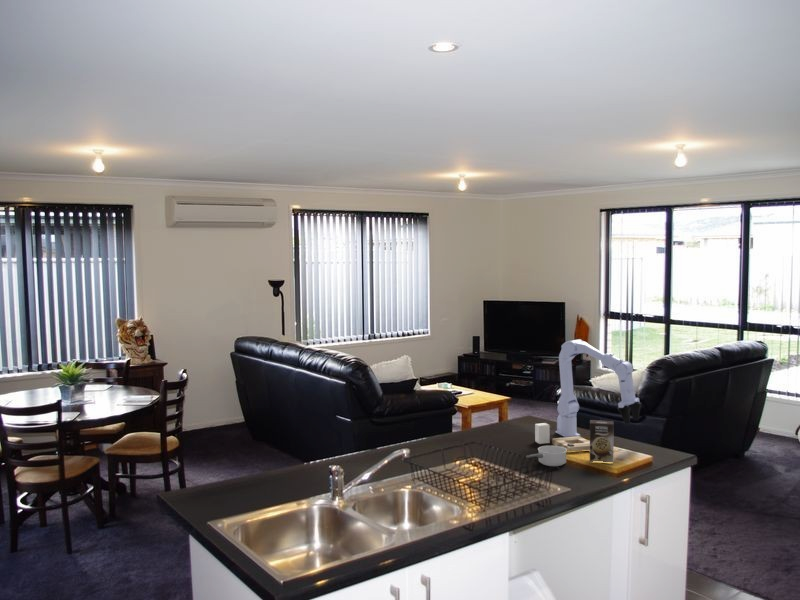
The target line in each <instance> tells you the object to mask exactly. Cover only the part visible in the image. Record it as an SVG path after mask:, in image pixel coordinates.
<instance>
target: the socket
mask: <svg viewBox="0 0 800 600" xmlns="http://www.w3.org/2000/svg"><path fill="white" fill-rule="evenodd" d="M575 443H577V444H575ZM551 445H552V446H560V447H564V448H566V449H567V450H568V451H582V450H590V440H588V439H586V438H584V437H582V436H581V435H580V436H571V437H564V436H563V437H556V438H555V437H554V438H552V440H551Z"/></svg>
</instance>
